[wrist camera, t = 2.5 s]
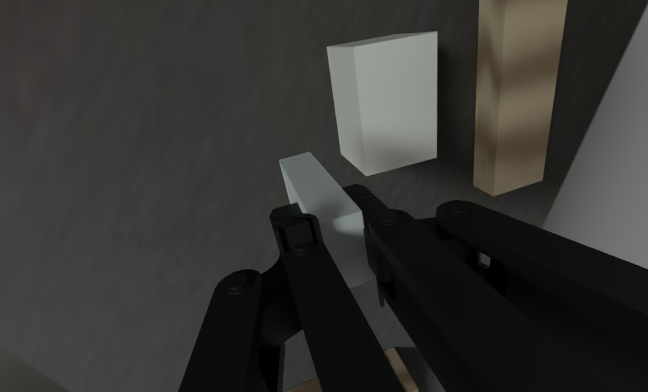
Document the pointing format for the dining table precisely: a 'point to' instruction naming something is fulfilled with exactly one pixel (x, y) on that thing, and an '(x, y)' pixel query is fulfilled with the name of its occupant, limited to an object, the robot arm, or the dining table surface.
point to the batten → (515, 90)
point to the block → (386, 100)
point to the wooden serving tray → (312, 388)
